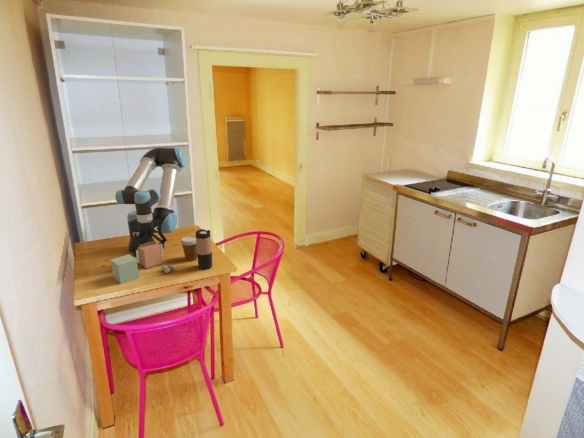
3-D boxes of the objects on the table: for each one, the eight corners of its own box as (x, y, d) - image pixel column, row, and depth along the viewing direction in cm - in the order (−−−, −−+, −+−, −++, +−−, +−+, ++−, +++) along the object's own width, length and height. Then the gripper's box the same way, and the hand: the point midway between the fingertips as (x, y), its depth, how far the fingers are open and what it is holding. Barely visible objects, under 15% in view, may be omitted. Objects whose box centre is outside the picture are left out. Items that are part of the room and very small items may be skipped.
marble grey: (160, 271, 193) (159, 265, 192) (165, 269, 195) (165, 264, 194) (163, 272, 191) (162, 267, 190) (168, 271, 193) (168, 265, 192)
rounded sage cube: (113, 277, 185) (110, 259, 182) (131, 271, 191) (128, 254, 188) (120, 284, 179) (118, 265, 176) (139, 277, 185) (136, 259, 182)
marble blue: (166, 270, 194) (166, 265, 193) (172, 268, 196) (171, 263, 195) (169, 272, 192) (169, 266, 191) (175, 270, 194) (174, 265, 193)
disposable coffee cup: (195, 263, 202) (193, 242, 198) (179, 261, 204) (177, 241, 200) (203, 256, 211) (201, 236, 207) (187, 254, 212) (185, 235, 209)
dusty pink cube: (138, 262, 201) (136, 245, 197) (154, 257, 207) (152, 241, 204) (146, 268, 195) (144, 250, 191) (162, 262, 201) (160, 245, 198)
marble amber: (163, 273, 191) (162, 267, 190) (168, 271, 193) (168, 265, 192) (166, 274, 189) (165, 269, 188) (171, 273, 191) (171, 267, 190)
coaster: (137, 263, 201) (137, 262, 201) (155, 258, 208) (155, 257, 207) (145, 269, 194) (145, 268, 194) (163, 263, 201) (163, 262, 201)
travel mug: (200, 271, 193) (197, 235, 186) (196, 265, 199) (193, 230, 193) (214, 268, 196) (212, 232, 190) (210, 262, 203) (208, 228, 196)
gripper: (124, 228, 182) (129, 267, 189) (170, 217, 199) (174, 253, 206) (117, 224, 187) (123, 263, 194) (164, 214, 204) (167, 249, 211)
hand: (149, 258), depth 200 cm, fingers open, 13 cm apart
